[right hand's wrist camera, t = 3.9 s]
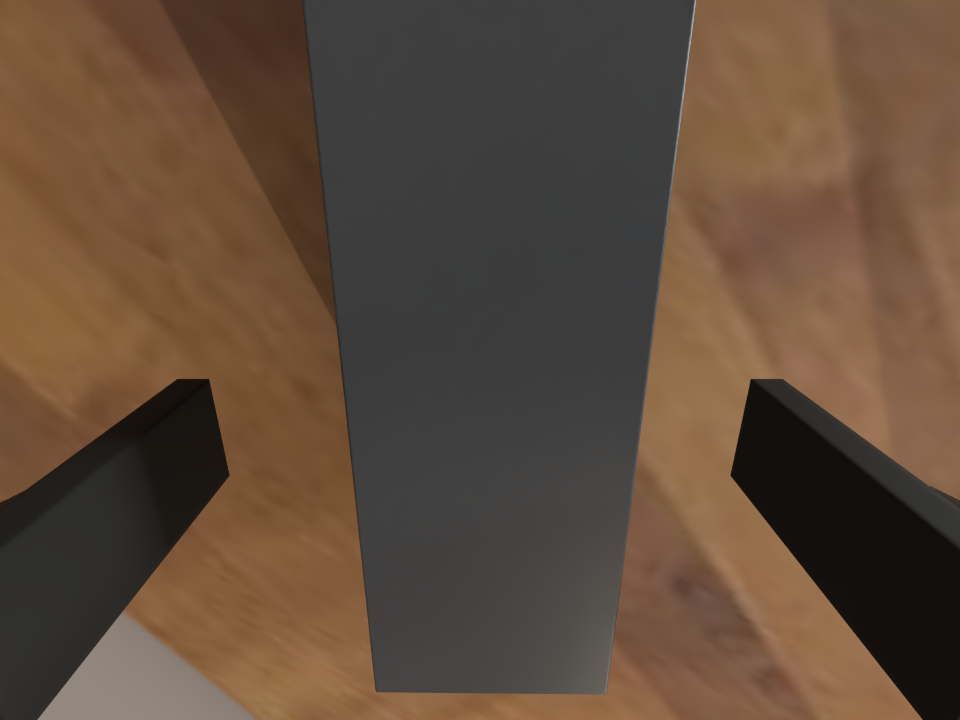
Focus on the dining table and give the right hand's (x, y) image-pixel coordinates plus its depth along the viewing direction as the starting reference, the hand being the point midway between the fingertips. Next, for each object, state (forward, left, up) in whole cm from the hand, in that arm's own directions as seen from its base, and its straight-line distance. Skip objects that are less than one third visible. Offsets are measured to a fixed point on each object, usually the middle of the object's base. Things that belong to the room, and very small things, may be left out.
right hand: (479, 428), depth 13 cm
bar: (-9, -26, -4) cm, 28 cm away
